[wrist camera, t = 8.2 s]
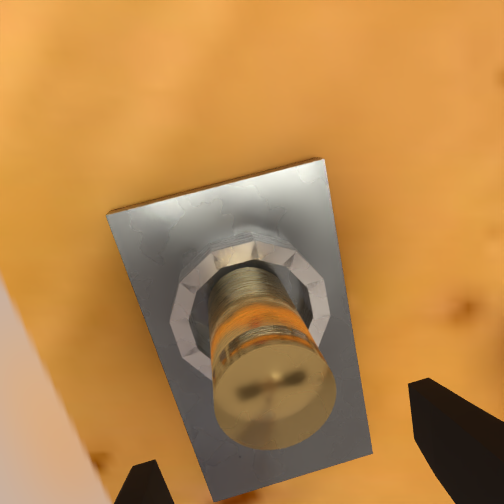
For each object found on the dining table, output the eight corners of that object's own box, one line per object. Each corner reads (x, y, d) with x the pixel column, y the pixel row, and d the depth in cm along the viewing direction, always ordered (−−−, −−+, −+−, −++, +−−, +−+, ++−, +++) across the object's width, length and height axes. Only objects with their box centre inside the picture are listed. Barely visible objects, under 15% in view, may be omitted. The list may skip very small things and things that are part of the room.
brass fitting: (250, 354, 20) (278, 467, 13) (190, 311, 18) (187, 412, 12) (303, 299, 19) (360, 388, 12) (245, 250, 18) (273, 322, 11)
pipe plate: (365, 440, 24) (384, 474, 22) (213, 487, 23) (215, 527, 21) (317, 157, 18) (335, 161, 16) (110, 210, 17) (97, 223, 15)
